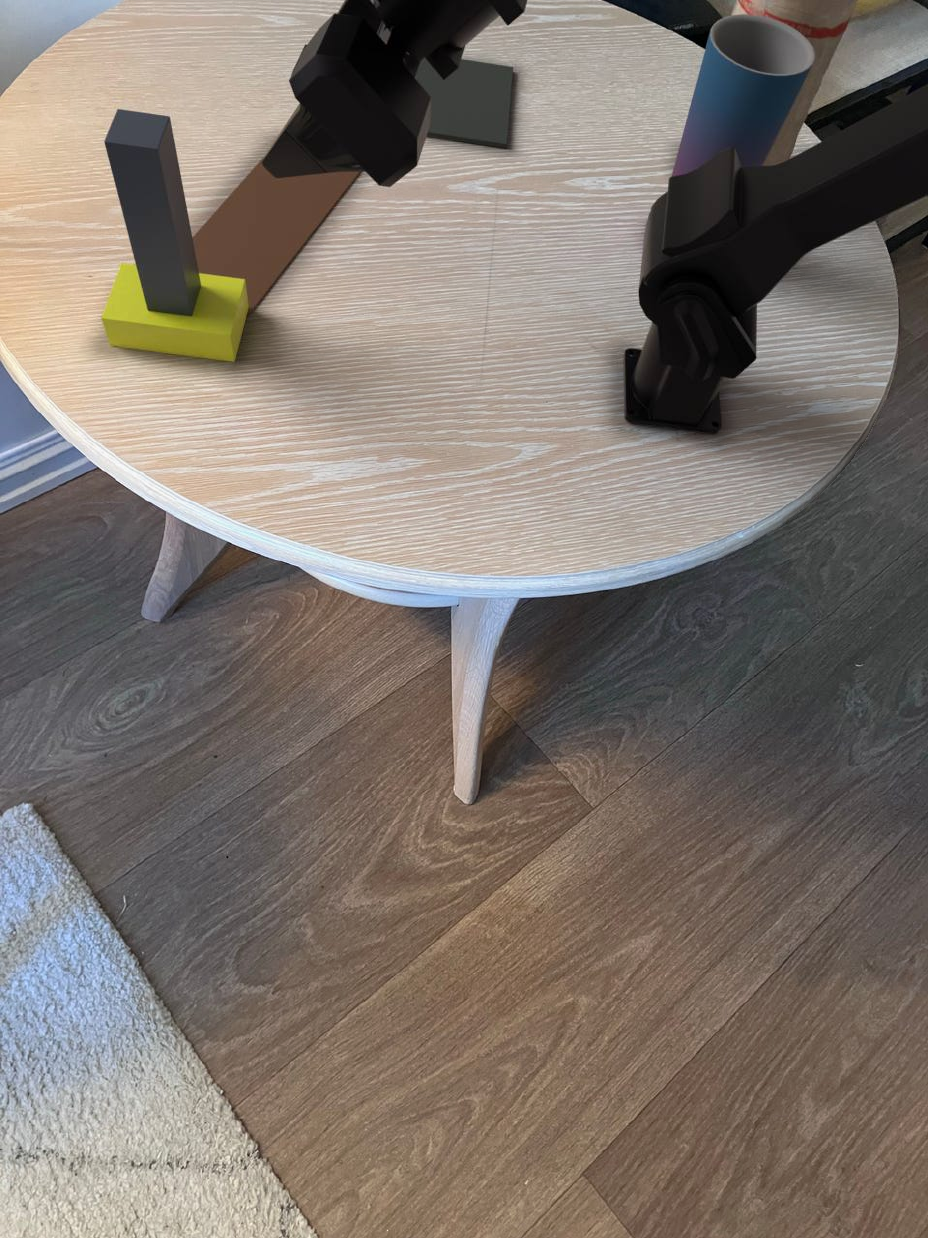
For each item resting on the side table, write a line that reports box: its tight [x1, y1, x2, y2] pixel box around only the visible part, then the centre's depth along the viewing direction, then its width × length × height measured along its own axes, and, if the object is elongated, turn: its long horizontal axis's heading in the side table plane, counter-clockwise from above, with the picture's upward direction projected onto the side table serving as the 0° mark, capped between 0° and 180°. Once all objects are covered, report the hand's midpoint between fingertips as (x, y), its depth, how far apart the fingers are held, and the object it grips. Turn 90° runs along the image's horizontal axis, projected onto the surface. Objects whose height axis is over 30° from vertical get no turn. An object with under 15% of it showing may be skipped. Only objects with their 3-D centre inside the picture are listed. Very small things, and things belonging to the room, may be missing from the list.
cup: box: [670, 14, 815, 177], centre depth 65 cm, size 7×7×15 cm
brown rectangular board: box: [192, 155, 361, 317], centre depth 67 cm, size 18×7×1 cm, turn 158°
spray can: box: [731, 0, 858, 166], centre depth 68 cm, size 8×8×20 cm
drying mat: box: [415, 58, 514, 149], centre depth 77 cm, size 11×11×1 cm
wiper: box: [101, 108, 249, 363], centre depth 55 cm, size 5×8×14 cm, turn 86°
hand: (292, 119), depth 51 cm, fingers open, 9 cm apart
